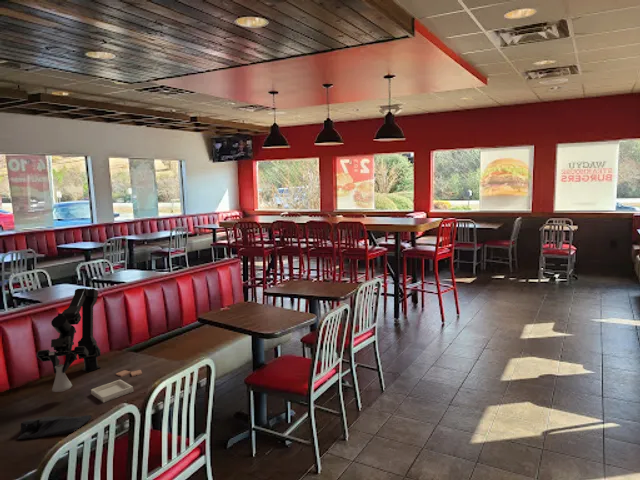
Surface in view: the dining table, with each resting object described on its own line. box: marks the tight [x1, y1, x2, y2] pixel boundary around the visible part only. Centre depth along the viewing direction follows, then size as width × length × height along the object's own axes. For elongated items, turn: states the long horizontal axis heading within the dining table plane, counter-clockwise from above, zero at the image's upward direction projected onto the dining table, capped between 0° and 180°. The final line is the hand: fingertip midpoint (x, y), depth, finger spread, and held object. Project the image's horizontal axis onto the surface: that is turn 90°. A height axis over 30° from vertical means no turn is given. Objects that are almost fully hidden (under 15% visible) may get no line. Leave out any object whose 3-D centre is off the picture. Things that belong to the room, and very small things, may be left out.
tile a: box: [115, 369, 131, 378], centre depth 221 cm, size 4×4×1 cm
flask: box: [51, 363, 73, 393], centre depth 195 cm, size 7×7×10 cm
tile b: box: [130, 369, 143, 377], centre depth 220 cm, size 4×4×1 cm
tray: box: [90, 378, 134, 404], centre depth 200 cm, size 13×13×2 cm
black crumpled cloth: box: [16, 415, 92, 440], centre depth 173 cm, size 15×22×5 cm
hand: (59, 373), depth 194 cm, fingers closed on flask, 3 cm apart
